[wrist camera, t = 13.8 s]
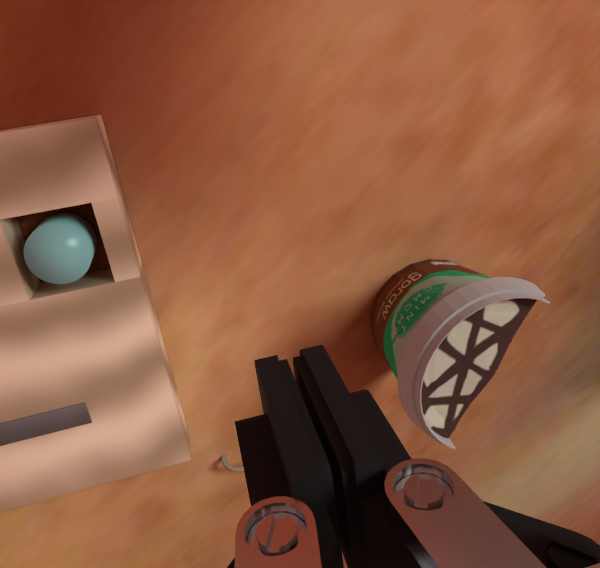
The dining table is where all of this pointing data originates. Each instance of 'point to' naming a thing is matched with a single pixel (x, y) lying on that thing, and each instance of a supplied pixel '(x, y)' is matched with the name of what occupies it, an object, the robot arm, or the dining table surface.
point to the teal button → (60, 248)
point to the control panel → (77, 332)
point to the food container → (446, 336)
